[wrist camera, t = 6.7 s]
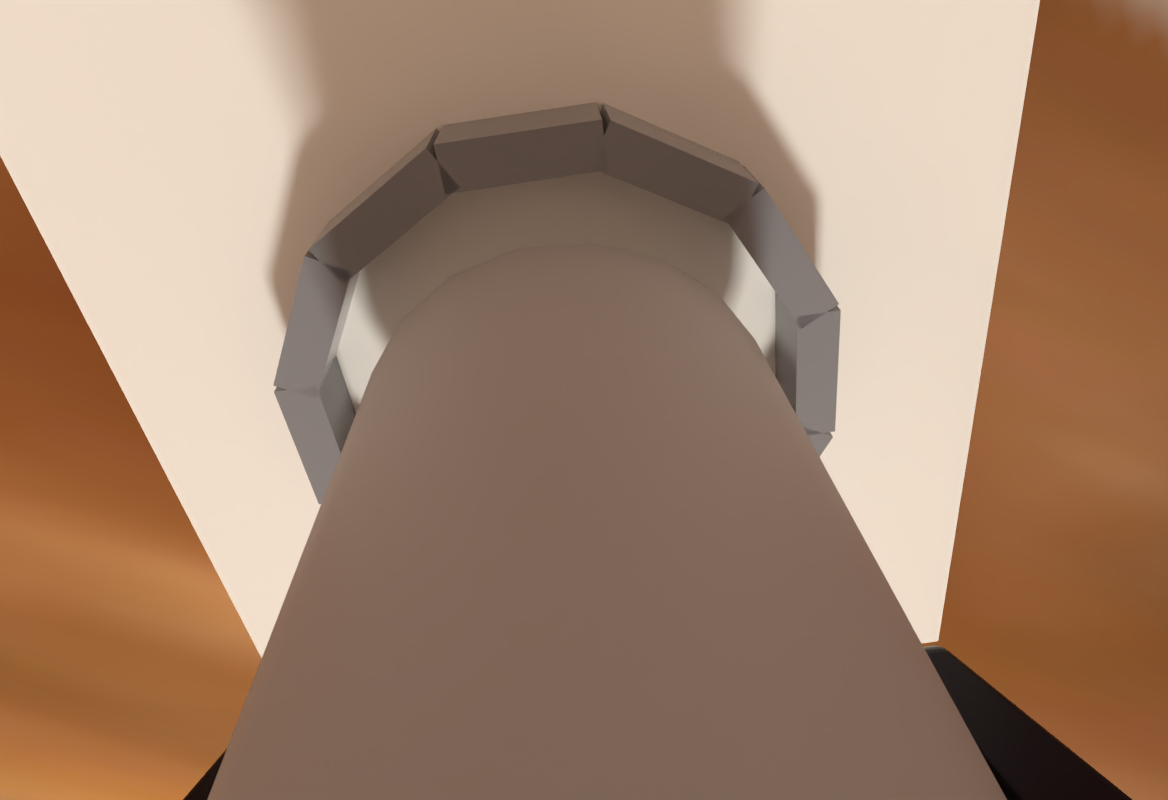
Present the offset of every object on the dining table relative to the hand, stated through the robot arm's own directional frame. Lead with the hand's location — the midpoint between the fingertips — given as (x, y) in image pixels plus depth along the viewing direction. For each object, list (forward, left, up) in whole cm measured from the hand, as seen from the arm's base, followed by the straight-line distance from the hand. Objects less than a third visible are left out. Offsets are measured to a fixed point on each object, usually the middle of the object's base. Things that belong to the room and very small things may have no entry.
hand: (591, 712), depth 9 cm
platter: (0, 0, -9) cm, 9 cm away
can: (0, 0, -7) cm, 7 cm away
